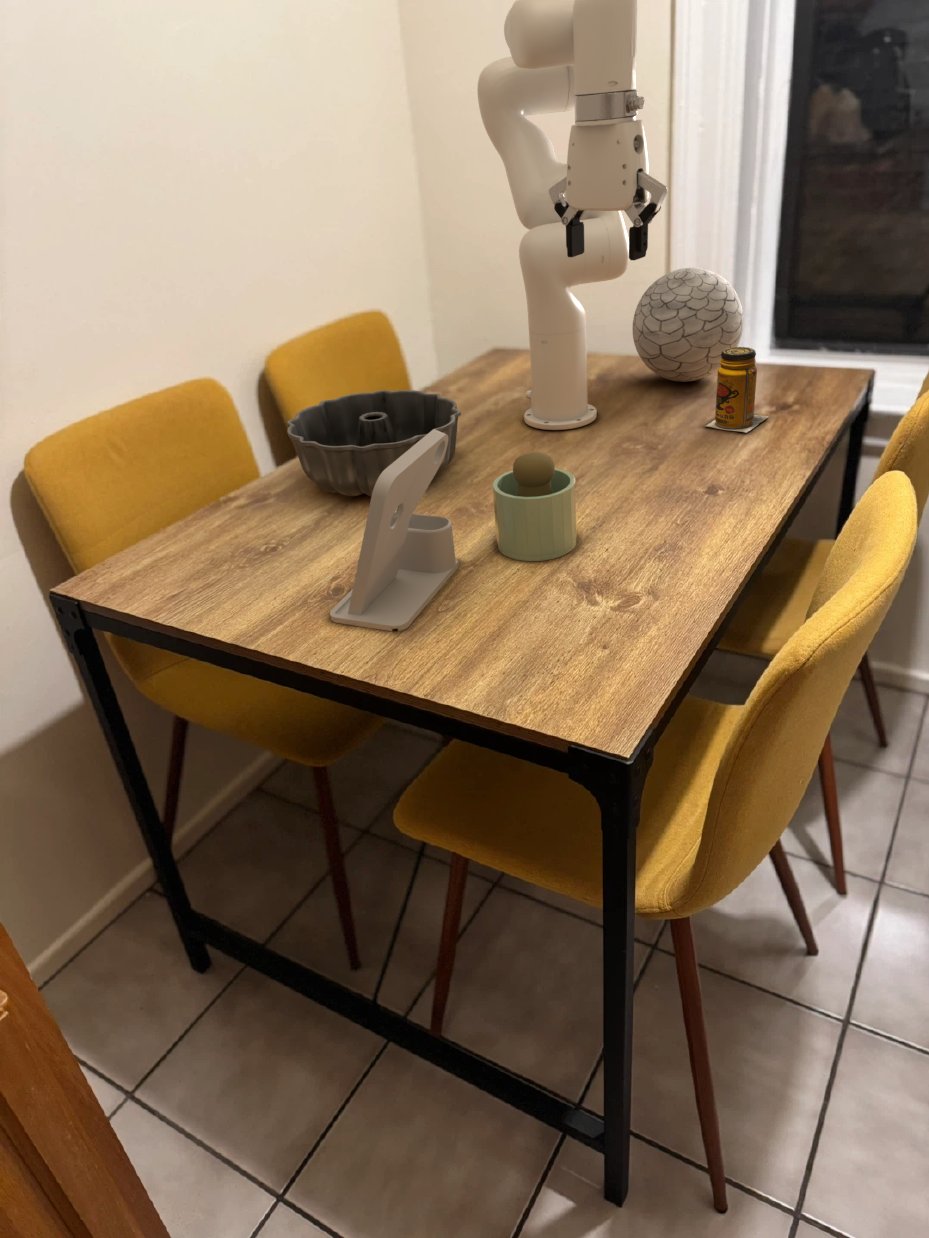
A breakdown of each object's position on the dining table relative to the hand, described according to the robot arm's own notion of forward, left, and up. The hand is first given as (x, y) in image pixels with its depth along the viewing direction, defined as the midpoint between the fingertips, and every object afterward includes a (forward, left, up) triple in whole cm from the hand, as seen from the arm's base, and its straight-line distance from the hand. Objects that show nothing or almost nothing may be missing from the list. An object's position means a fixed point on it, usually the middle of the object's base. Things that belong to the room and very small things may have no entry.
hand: (606, 257), depth 119 cm
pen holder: (+14, -22, -30) cm, 40 cm away
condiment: (-2, +28, -30) cm, 41 cm away
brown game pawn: (+14, -22, -30) cm, 39 cm away
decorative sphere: (-26, +38, -30) cm, 55 cm away
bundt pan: (-21, -28, -30) cm, 46 cm away
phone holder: (+14, -42, -30) cm, 54 cm away
